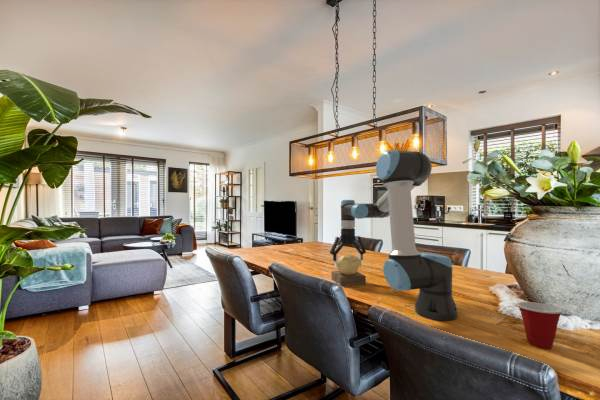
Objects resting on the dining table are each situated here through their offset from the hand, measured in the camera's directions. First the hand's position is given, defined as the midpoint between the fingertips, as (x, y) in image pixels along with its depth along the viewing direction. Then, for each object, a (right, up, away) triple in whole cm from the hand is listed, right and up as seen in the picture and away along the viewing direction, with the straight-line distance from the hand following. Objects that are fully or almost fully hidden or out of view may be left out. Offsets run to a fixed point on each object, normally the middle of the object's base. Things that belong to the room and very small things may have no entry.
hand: (348, 266), depth 155 cm
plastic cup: (+47, -8, -68) cm, 83 cm away
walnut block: (0, -9, 0) cm, 9 cm away
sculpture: (0, -4, 0) cm, 4 cm away
